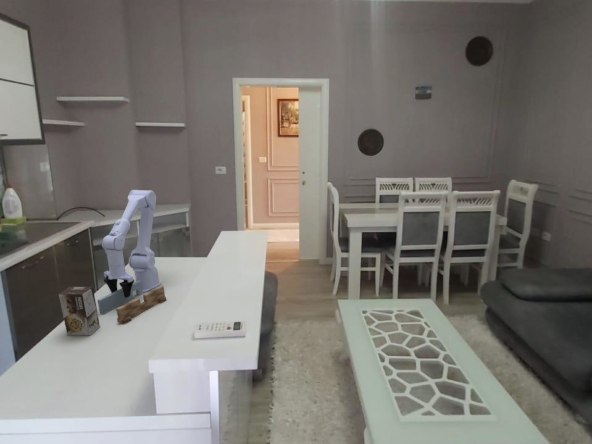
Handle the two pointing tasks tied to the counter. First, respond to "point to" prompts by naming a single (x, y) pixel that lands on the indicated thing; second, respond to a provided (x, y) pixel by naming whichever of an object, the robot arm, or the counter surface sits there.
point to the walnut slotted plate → (140, 305)
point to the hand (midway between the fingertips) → (121, 295)
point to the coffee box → (79, 310)
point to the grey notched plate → (118, 298)
